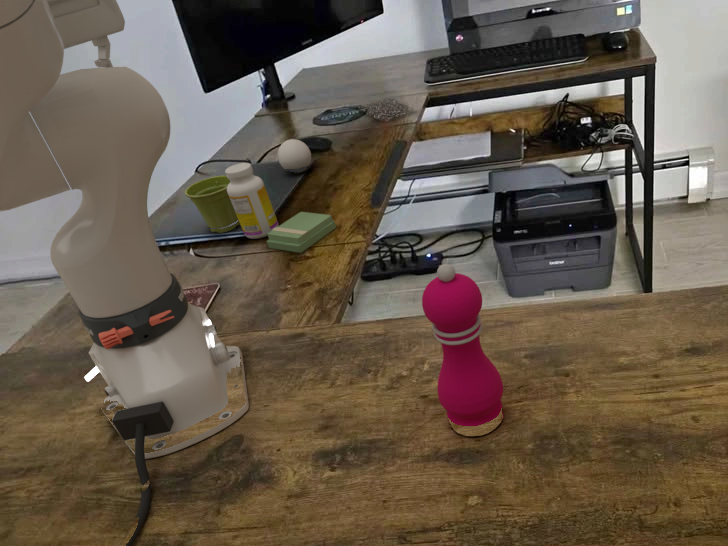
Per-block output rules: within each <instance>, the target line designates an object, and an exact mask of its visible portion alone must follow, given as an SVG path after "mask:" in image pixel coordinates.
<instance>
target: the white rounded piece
mask: <svg viewBox="0 0 728 546" xmlns="http://www.w3.org/2000/svg"><path fill="white" fill-rule="evenodd" d="M277 161H278V162H279V165H280V166H281V167H282V169H284V170H285V169H299V168H302V167H306V166H309V167H310V165H311V164H312V151H311V150H310V148H309V145H307V144H306V143H305V142H303V141H302V140H299V139H295V138H289V139H287V140H285V141H284V142H282V143H281V144H280V146H279V148H278V149H277ZM307 170H308V168H306V169H304V170H302V171H298V172H297V173H296V172H295V173H294V174H302V173H303V172H305V171H307Z"/></svg>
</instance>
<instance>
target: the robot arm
mask: <svg viewBox="0 0 728 546" xmlns="http://www.w3.org/2000/svg"><path fill="white" fill-rule="evenodd" d="M125 23H126V20H125V17H124V14H123V12H122V10H121V7H120V6H119V3H118V2H117V0H0V212H5V211H10V210H13V209H16V208H20V207H23V206H25V205H29V204H32V203H34V202H39V201H41V200H43V199H46V198H50V197H53V196H56V195H59V194H62V193H65V192H69V191H71V190H72V191H73V190H79V191H81V195H82V196H81V203H80V205H79V206H78V209H77V210H76V211H75V213H74V214H73V215H72V216H71V217H70V218H69V219H68V220H67V221H66V222H65V223H64V224H63V225H62V226H61V228H60V229H59V230H58V231H57V233H56V234H55V236H54V238H53V240H52V242H51V246H50V260H51V264H52V266H53V267H54V269H55V270H56V273H57V274H58V276H59V278H60V279H61V281H62V282H63V284H64V286H65V287H66V290H68V292H69V294H70V296H71V297H72V299H73V300H74V302H75V304H76V305H77V307H78V311H77V313H78V316H79V318H80V320H81V324H82V325H83V327H84V329H85V331H86V333H88V334H89V336H90V338H91V340H92V342H93V343H92V345H91V347H90V350H89V351H88V355H89V357H90V358H91V360H92V362H93V363H94V365H95V367H93V368H92V369H91V370H90V371H89V372H88V373H87V374H86V375H85V376H84V379H85V381H86V382H90V381H92V379H93V378H95V377H96V375H97V374H99V373H100V375H101V377H102V379H103V380H104V381H105V383H106V385H107V386H106V387H104V393H105V394H106V397H105V398H104V399H103V400H104V403H105V401H106V400H107V401H109V400H110V402H111V401H113V403H111V404H109V405H108V406H107V407H106V410H110V409H113V408H115V407H116V406H117V405H118V403H119V404H123V406H124V408H126V409H123V410H118V411H116V413H115V415H114V417H113V419H112V422H111V421H110V419H109V418H108V417H107V415H106V414H105V413H104V411H103V410H102V408H101V407H100V409H101V410H102V411H101V412H102V413H103V414H104V416H105V417H106V418H107V420H108V421H109V423H110V424H111V426H112V427H113V428H114V430H115V431H116V432H117V434H118V435H119V436H120V438H121V439H122V441H123V442H124V443H125V444H126V446H127V447H128V448H129V450H130V451H131V453H132V454H133V455H134V459H135V467H136V470H137V475H138V477H139V481H140V485H141V484H142V485H144V484H145V483H147V481H148V480H149V477H150V474H149V471H148V467H147V463H146V460H149V459H154V458H159V457H162V456H166V455H169V454H172V453H175V452H178V451H180V450H183V449H185V448H188V447H190V446H193V445H195V444H197V443H199V442H201V441H203V440H206V439H208V438H209V437H212V436H214V435H215V434H217V433H220V432H221V431H223V430H224V429H226V428H227V427H229V426H231V425H232V424H234V423H235V422H236V421H238V420H239V419H240V418H241V417H242V416H244V414H246V412H248V410H249V407H250V405H249V396H248V395H249V394H248V388H247V380H246V379H247V378H246V374H245V364H244V357H243V356H244V355H243V352H242V350H241V349H240V347H239V346H236V345H226V344H225V343H223V342H221V340H220V338H219V336H218V335H217V334H218V330H217V327H216V325H215V324H214V323H212V321H211V319H210V318H209V316H208V315H207V312H206V310H205V308H204V307H201V306H198V305H196V304H195V305H194V304H192V303H190V302H189V301H188V298H187V296H186V294H185V291H184V287H183V286H182V284H181V283H180V282H179V280H178V279H177V277H176V276H175V275H174V274H173V273H172V272H170V271H169V269H168V266H167V264H166V262H165V259H164V256H163V255H162V253H161V250H160V248H159V245H158V242H157V240H156V237H155V235H154V231H153V229H152V226H151V223H150V218H149V213H148V195H149V194H148V193H149V187H150V183H151V180H152V176H153V173H154V171H155V168H156V166H157V164H158V162H159V160H160V159H161V157H162V156H163V154H164V153H165V152H166V149H167V148H168V145H169V141H170V137H171V118H170V114H169V111H168V108H167V105H166V103H165V101H164V99H163V97H162V96H161V94H160V93H159V91H158V90H157V89H156V88H155V86H154V85H153V84H152V83H151V82H150V81H149V80H148V79H146V77H144V76H142V74H140V73H138V72H137V71H136V70H134V69H132V68H129V67H127V66H114V65H113V63H112V62H111V59H110V58H111V42H110V40H109V37H108V36H110V35H113V34H117V33H120V32H123V31H124V30H125ZM89 42H91V43H92V45H93V46H94V47H97V59H96V60H94V61H93V62H94V64H95V66H96V67H93V68H80V69H76V70H73V71H69V72H65V73H61V72H62V69H63V64H64V58H65V56H64V55H65V50H66V49H70V48H72V47H75V46H79V45H83V44H86V43H89ZM231 352H232V353H231ZM240 357H241V359H240ZM240 362H241V365H242V373H243V382H244V390H245V399H246V403H245V405H244V406H243V407H242V408H241V409H240V410H239V411H238V412H237V413H236V414H234V415H233V416H232V417H230V416H231V414H232V412H231V411H225V412H222V413H221V414H220V415H219V417H218V418H219V419H226V418H228V417H230V418H229V419H227V420H226V421H224V422H223V423H221V424H219V425H218V426H216V427H214V428H212V429H210V430H208V431H206V432H204V433H202V434H200V435H198V436H196V437H194V438H192V439H189V440H187V441H185V442H182V443H180V444H177V445H174V446H172V447H169V448H166V449H162V450H159V451H155V452H150V453H144V443H145V437H147V438H148V439H157V438H161V437H164V436H167V435H170V434H173V433H176V432H178V431H181V430H183V429H186V428H188V427H190V426H192V425H194V424H196V423H198V422H200V421H202V420H204V419H206V418H208V417H210V416H212V415H214V414H215V413H217V412H218V411H221V410H222V409H223V408H225V407H226V405H227V404H228V396H227V386H226V380H227V372H229V373H231V368H235V369H236V366H237V367H240ZM234 387H238V385H235V386H234ZM237 396H239V395H237ZM103 400H102V401H101V403H102V402H103ZM114 401H117V402H114ZM113 424H114V425H113ZM131 439H135V452H134V451H133V450H132V449H131V448H130V446H129V445H128V444H127V442H126V440H131ZM165 445H166V441H165V440H161V441H158V442H156V443H155V444H154V445H153V447H152V449H154V450H158V449H161V448H162V447H164V446H165ZM140 489H141V490H140V504H139V507H138V511H137V514H136V516H135V518H134V520H133V522H134V521H135V519H136V518H137V517H139V520H138V525H137V528H136V530H135V532H134V534H133V536H132V537H131V539H130V540H129V542H128V543H127V544H126V546H132V545H133V544H134V542H135V541H136V539H137V538H138V535H139V534H140V531H141V530H142V527H143V525H144V523H145V521H146V519H147V516H148V514H149V510H150V507H151V499H152V482H151V481H150V484H149V486H148V488H147V489H146V490H145V491H142V488H140ZM126 536H127V534H126ZM126 536H125V537H126Z"/></svg>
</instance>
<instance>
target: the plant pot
mask: <svg viewBox="0 0 728 546" xmlns="http://www.w3.org/2000/svg"><path fill="white" fill-rule="evenodd" d="M229 183H230V180H229V179H228V178H227V176H226V174H224V175H223V174H222V175H215V176H211V177H210V176H209V177H207V178H204V179H201V180H199V181H196V182H194V183H192V184H190V185H189V186H188V187H187V188H186V189H185V191H184V194H185V196H186V197H188V198H189V199H190V201H191V202H192V203H193V204H194V206H195V207H196V208H197V210H198V212H199V213H200V215H201V217H202V218H203V220H204V221H205V223H206V225H207V227H208V228H209V227H210V228H216V229H210V228H209V230H210V231H211V233H218V234H223V233H227V232H232V231H233V230H235V229H236V227H237V226H241V225H240V222H239V221H238V222H237V223H236V224H234V225H232V226H230V227H227V228H223V229H217V228H222V227H226V226H228V225H230V224H232V223H234V222H236V221H237V220H238V218H237V215H236V213H235V210H234V208H233V205H232V203H231V200H230V198H229V196H228V193H227V186H228V184H229Z"/></svg>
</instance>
